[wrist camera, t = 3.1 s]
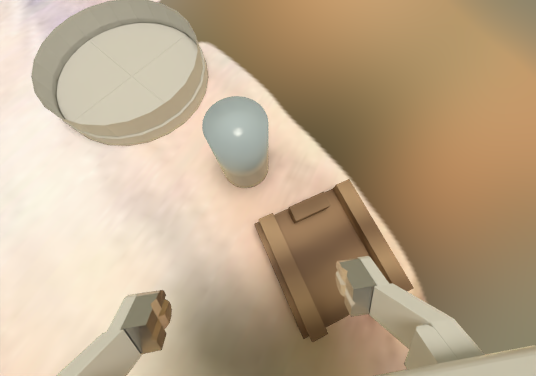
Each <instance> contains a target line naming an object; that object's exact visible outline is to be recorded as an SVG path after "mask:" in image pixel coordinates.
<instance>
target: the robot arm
mask: <svg viewBox="0 0 536 376" xmlns="http://www.w3.org/2000/svg"><path fill="white" fill-rule="evenodd" d="M336 268H337V270H338V271H337V272H336V284H337V287H338V290H339V292H340V294H341V295H342V296H344V297H345V300H344V303H345V305H346V308H347V310H348V312H349V314H350V316H351V317H352V316H359V315H365V314H369V315H370V316H371V317H372V318H374V319H375V320H376V321H377V322H378V323H379V324H380V325H382V326H383V327H384V328H385V329H386V330H387V331H389V332H390V333H391V334H392V335H393V336H394V337H396V338H397V339H398V340H399V341H400V342H401V343H403V344H404V345H405V346H406V347H407V348H408V349H409V351H408V354H407V357H406V360H405V363H404V364H405V366H406V368H407V370H402V371H396V372H391V373H386V374H381V375H375V376H536V345H534V346H529V347H523V348H518V349H513V350H507V351H502V352H496V353H492V354H486V355H485V354H484V353H483V352H482V351H481V349H480V348H479V347H478V346H477V345H476V344H475V343H474V341H473V340H472V339H471V338H470V337H469V336H468V335H467V333H466V332H465V331H464V330H463V329H462V328H461V327H460V325H459V324H458V323H457V322H456V321H455V320H454V319H453V318H451V317H450V316H448V315H446V314H445V313H443V312H441V311H440V310H438V309H436V308H434V307H433V306H430V305H429V304H427V303H426V302H424V301H422V300H421V299H419V298H417V297H415V296H414V295H412V294H410V293H408V292H407V291H405V290H403V289H402V288H400V287H398V286H396V285H395V284H393V283H392V284H389V282H388V281H387V280H386V278H385V277H384V276H383V274H382V273H381V271H380V270H379V269H378V267H377V266H376V264H375V263H374V262H373V260H372V259H371V257H369V256H363V257H358V258H351V259H345V260H340V261H337V262H336ZM165 296H166V294H165V292H164V291H163V290H160V291H152V292H145V293H139V294H132V295H128V296H126V297H125V298H124V300H123V302H122V304H121V306H120V308H119V310H118V311H117V313H116V315H115V317H114V319H113V321H112V323H111V325H110V327H109V328H108V330H107V332H105V333H102V334H101V335H100V336H99V337H98V338H97V339H96V340H95V341H94V342H92V343H91V344H90V345H89V346H88V347H87V348H86V349H85V350H84V351H83V352H81V353H80V354H79V355H78V356H77V357H76V358H75V359H74V360H73V361H72V362H71V363H69V364H68V365H67V366H66V367H65V368H64V369H63V370H62V371H61V372H60V373H58V374H57V375H56V376H126V375H127V374H128V373H129V371H130V370H131V369H132V367H133V366H134V365H135V363H136V362H137V361H138V360H139V358H140V357H141V354H145V353H150V352H155V351H159V350H162V347H163V344H164V340H165V337H166V332H165V328H166V327H167V326H168V324H169V323H170V319H171V312H172V309H171V304H170V302H169V301H168V300H166V299H165Z"/></svg>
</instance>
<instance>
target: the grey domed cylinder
mask: <svg viewBox="0 0 536 376" xmlns="http://www.w3.org/2000/svg"><path fill="white" fill-rule="evenodd" d="M203 133H204V136H205V138H206V140H207V142H208V144H209V146H210V147H211V149H212V151H213V153H214V155H215V157H216V159H217V161H218V163H219V165H220V166H221V168H222V170H223V172H224V174H225V176H226V178H227V179H228V181H229V182H230V183H232V184H233V185H235V186H237V187H241V188H250V187H254V186H256V185H258V184H259V183H261V182H262V181H263V180H264V178H265V177H266V175H267V172H268V118H267V115H266V112H265V111H264V109H263V108H262V107H261V106H260V105H259V104H258V103H257V102H255V101H254V100H252V99H249V98H246V97H239V96H235V97H228V98H224V99H222V100H220V101H218V102H216V103H215V104H214V105H212V106H211V107H210V108H209V110H208V111H207V112H206V114H205V116H204V119H203Z"/></svg>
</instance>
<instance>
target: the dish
mask: <svg viewBox="0 0 536 376" xmlns="http://www.w3.org/2000/svg"><path fill="white" fill-rule="evenodd" d="M31 77H32V81H33V86H34V91H35V94H36V95H37V96H38V98H39V99H40V101H41V102H42V104H43V105H44V107H45V108H47V109H48V110H50V111H51V112H53V113H54V114H56V115H57V116H58V117H60V118H61V119H62V120H63V121H64V122H65V123H67V124H68V125H70V126H71V127H72V128H74V129H75V130H77V131H78V132H80V133H81V134H83V135H84V136H86V137H87V138H89V139H91V140H94V141H97V142H100V143H103V144H107V145H120V146H130V145H136V144H141V143H147V142H150V141H153V140H155V139H158V138H160V137H162V136H165V135H167V134H169V133H171V132H172V131H174V130H175V129H176V128H178V127H179V126H181V125H182V124H184V123H185V122H186V121H187V120H188V119H189V118H190V116H191V115H192V114H193V113H194V112H195V111H196V110H197V109H198V107H199V105H200V103H201V101H202V99H203V97H204V95H205V93H206V88H207V83H208V72H207V65H206V61H205V58H204V55H203V52H202V50H201V48H200V47H199V45H198V41H197V38H196V35H195V33H194V31H193V29H192V27H191V26H190V24H189V22H188V21H187V20H186V19H185V18H184V17H183V16H182V15H181V14H180V13H179V12H178V11H176V10H174V9H172V8H170V7H168V6H166V5H164V4H161V3H157V2H153V1H149V0H114V1H107V2H104V3H101V4H98V5H95V6H91V7H88V8H86V9H84V10H82V11H80V12H78V13H77V14H75V15H73V16H71V17H69V18H68V19H67V20H65V21H64V22H63V23H61V24H60V25H59V26H58V27H56V28H55V29H54V30H53V31H52V32H51V33H50V35H49V36H48V37H47V38H46V39H45V41H44V42H43V43H42V44H41V46H40V48H39V50H38V53H37V55H36V57H35V59H34V63H33V69H32V76H31Z"/></svg>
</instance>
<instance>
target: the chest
mask: <svg viewBox="0 0 536 376" xmlns="http://www.w3.org/2000/svg"><path fill="white" fill-rule="evenodd" d="M255 227H256V229H257V231H258V234H259V236H260V238H261V241H262V243H263V245H264V248H265V250H266V252H267V255H268V257H269V259H270V262H271V264H272V267H273V269H274V271H275V274H276V276H277V278H278V281H279V283H280V285H281V288H282V290H283V292H284V295H285V297H286V299H287V302H288V304H289V306H290V309H291V311H292V313H293V316H294V318H295V320H296V323H297V325H298V327H299V330H300V332H301V334H302V337H303V339H305V338H307V337H310V339H311V341H312V342H314V341H316V340H318V339H319V338H321V337H323V336H325V335H327V334H328V332H327V330H326V327H327V326H329V325H331V324H333V323H335V322H337V321H339V320H341V319H343V318H344V317H346V316H348V315H350V314H349V312H348V310H347V308H346V305H345V303H344V300H345V297H344V296H342V295H341V294H340V292H339V290H338V287H337V284H336V272H337V271H338V270H337V268H336V262H337V261H340V260H345V259H351V258H358V257H363V256H369V257H371V259H372V260H373V262H374V263H375V264H376V266H377V267H378V269H379V270H380V271H381V273H382V274H383V276H384V277H385V278H386V280H387V281H388V282H389V284H392V283H393V284H395V285H396V286H398V287H400V288H402V289H403V290H405V291H409V290H411V289H413V286H412V284H411V283H410V281H409V279H408V278H407V276H406V274H405V272H404V271H403V269H402V267H401V266H400V264H399V262H398V261H397V259H396V257H395V256H394V254H393V252H392V251H391V249H390V247H389V246H388V244H387V242H386V240H385V239H384V237H383V235H382V234H381V232H380V230H379V229H378V227H377V225H376V224H375V222H374V220H373V219H372V217H371V215H370V214H369V212H368V210H367V209H366V207H365V205H364V203H363V202H362V200H361V198H360V197H359V195H358V193H357V192H356V190H355V188H354V187H353V185H352V183H351V182H350V180H349V179H348V180H346V181H344V182H342V183H339V184H337V185H336V186H335V187H334V188H333V189H332V190H329V191H327V192H325V193H324V192H322V193H320V194H318V195H315V196H313V197H311V198H309V199H306V200H304V201H302V202H300V203H297V204H295V205H293V206H291V207H289V209H287V210H284V211H282V212H280V213H278V214H275V215H273V213H272V214H269V215H267V216H265V217H263V218H260V219H259V222H257V223H255Z"/></svg>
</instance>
